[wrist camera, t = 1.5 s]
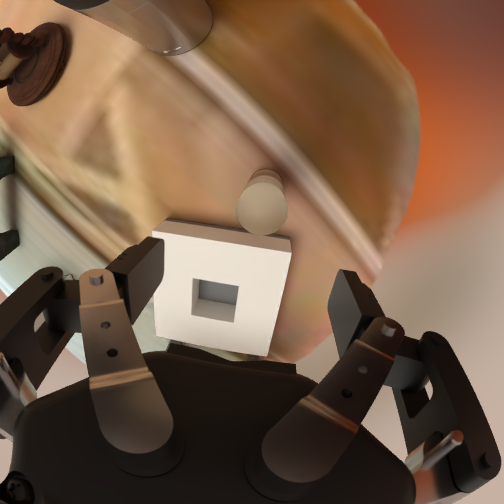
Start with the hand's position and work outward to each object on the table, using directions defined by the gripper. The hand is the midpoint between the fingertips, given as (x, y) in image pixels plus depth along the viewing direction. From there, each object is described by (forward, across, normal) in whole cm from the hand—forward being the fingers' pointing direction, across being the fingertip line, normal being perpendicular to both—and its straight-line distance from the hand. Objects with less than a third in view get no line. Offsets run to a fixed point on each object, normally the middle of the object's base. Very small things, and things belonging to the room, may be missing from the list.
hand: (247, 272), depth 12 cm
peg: (+22, 0, 0) cm, 22 cm away
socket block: (+22, +4, +14) cm, 26 cm away
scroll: (+22, +39, -18) cm, 48 cm away
